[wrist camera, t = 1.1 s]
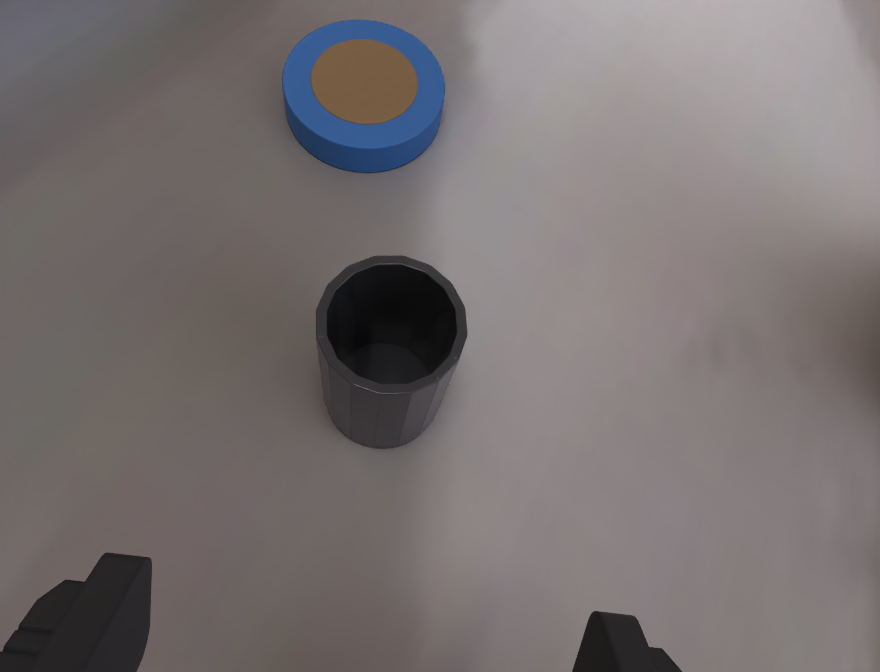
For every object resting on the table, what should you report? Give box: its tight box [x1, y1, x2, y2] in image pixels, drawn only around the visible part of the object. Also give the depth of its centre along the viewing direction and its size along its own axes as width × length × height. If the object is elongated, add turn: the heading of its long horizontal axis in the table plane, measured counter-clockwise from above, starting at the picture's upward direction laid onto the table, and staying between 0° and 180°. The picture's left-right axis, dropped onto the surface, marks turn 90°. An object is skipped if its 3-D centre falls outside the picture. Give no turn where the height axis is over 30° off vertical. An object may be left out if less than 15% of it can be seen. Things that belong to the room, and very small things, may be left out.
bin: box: [316, 256, 467, 449], centre depth 34 cm, size 6×6×10 cm
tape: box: [282, 20, 445, 172], centre depth 44 cm, size 10×10×3 cm
